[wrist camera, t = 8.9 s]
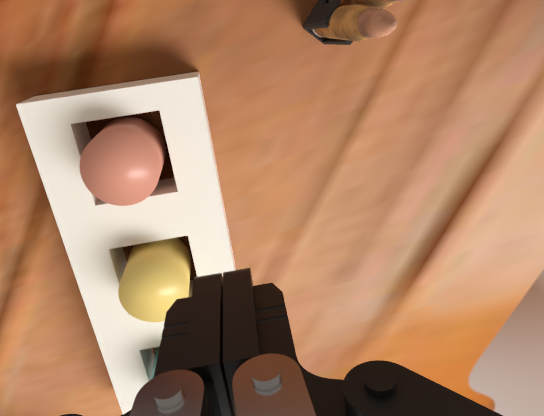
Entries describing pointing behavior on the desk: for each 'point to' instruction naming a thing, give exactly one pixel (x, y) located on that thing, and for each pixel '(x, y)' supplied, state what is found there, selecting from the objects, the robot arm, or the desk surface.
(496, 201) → the desk surface
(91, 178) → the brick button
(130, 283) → the ochre button
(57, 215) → the panel
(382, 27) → the ammunition clip
